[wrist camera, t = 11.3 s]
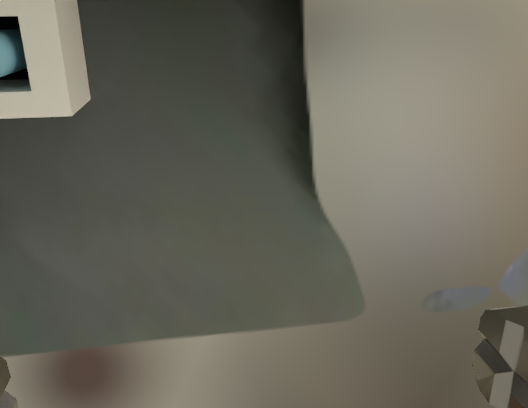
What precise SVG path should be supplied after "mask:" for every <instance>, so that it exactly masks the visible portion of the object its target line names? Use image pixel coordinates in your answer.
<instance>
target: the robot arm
mask: <svg viewBox="0 0 528 408" xmlns="http://www.w3.org/2000/svg"><path fill="white" fill-rule="evenodd" d="M478 330H479V331H480V333H481V334H482V335H483V337H484V340H483V341H482V342H481V343H480V344H479V345H478V347H477V348H476V349H475V350H474V359H473V371H474V376H475V381H476V383H477V385H478V387H479V389H480V392H481V393H482V394H483V396H484V397H485V399H486V400H487V401H488V403H489V404H491V405H493V406H495V407H497V408H528V305H526V306H516V307H507V308H497V309H488V310H485V311H484V313H483V315H482V316H481V318H480V324H479V328H478ZM10 378H11V376H10V373H9V369H8V366H7V362H6V360H5V359H3V358H2V357H0V408H18V404H17V400H16V399H15V398H14V397H13V396H11V395H10V394H9V393H8V392H6V391H5V388H6V386H7V384H8V382H9V380H10Z"/></svg>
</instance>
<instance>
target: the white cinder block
mask: <svg viewBox="0 0 528 408" xmlns="http://www.w3.org/2000/svg"><path fill="white" fill-rule="evenodd" d="M0 16H18V20H19V26H20V31H21V37H22V42H23V48H24V53H25V59H26V64H27V70H28V75H29V79H14V80H0V119H8V118H36V117H64V116H73V115H74V114H75V113H76V112H77V111H78V110H79V109H81V108H82V107H83V106H84V105H85V104H86V103H87V102H88V101H90V100H91V98H90V91H89V84H88V76H87V69H86V62H85V55H84V47H83V40H82V33H81V26H80V18H79V11H78V4H77V0H0Z"/></svg>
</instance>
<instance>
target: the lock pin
mask: <svg viewBox="0 0 528 408" xmlns="http://www.w3.org/2000/svg"><path fill="white" fill-rule="evenodd" d="M26 68H27V64H26V59H25V53H24V48H23V42H22V37H21V31H20V28H17V29H6V30H0V77H2V76H5V75H8V74H11V73H14V72H17V71H20V70H23V69H26Z"/></svg>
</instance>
